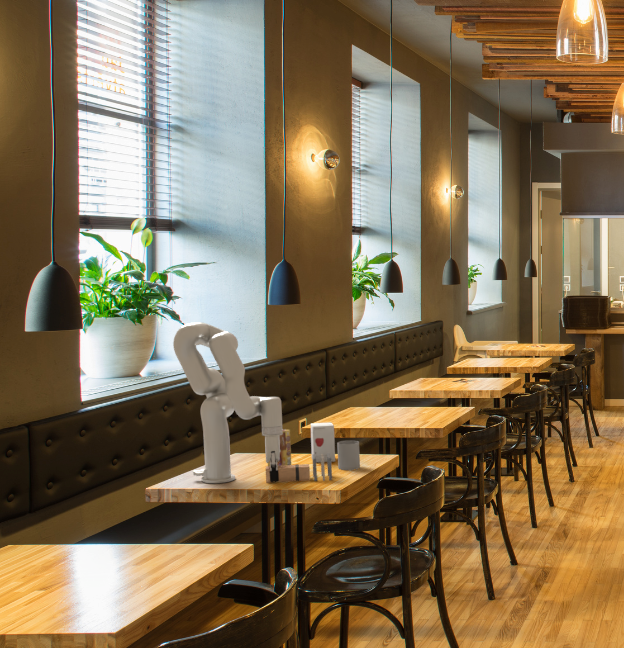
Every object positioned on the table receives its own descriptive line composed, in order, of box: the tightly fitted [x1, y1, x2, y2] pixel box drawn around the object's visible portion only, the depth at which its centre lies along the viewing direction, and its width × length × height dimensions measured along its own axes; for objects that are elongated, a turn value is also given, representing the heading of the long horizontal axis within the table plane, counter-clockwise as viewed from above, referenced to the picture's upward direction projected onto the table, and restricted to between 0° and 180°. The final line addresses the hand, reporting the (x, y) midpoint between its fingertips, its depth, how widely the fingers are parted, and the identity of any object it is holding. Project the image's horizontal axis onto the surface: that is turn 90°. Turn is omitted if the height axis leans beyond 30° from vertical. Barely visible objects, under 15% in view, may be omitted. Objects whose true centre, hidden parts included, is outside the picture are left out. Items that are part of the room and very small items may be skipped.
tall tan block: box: [265, 463, 311, 483], centre depth 296 cm, size 16×5×5 cm, turn 92°
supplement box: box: [310, 422, 336, 463], centre depth 331 cm, size 9×9×15 cm
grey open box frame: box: [311, 453, 333, 482], centre depth 297 cm, size 6×8×8 cm
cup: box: [336, 440, 361, 471], centre depth 313 cm, size 8×8×10 cm
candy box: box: [267, 429, 292, 466], centre depth 318 cm, size 9×4×15 cm, turn 63°
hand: (274, 479), depth 296 cm, fingers closed on tall tan block, 5 cm apart
